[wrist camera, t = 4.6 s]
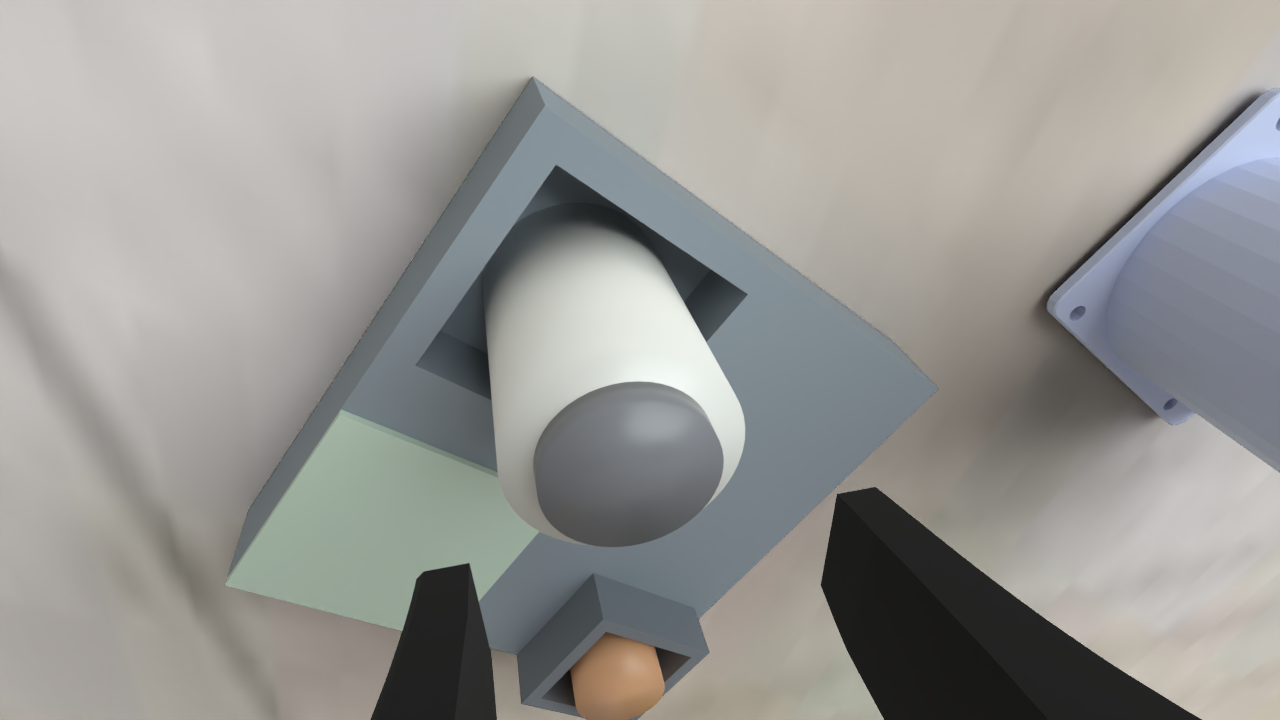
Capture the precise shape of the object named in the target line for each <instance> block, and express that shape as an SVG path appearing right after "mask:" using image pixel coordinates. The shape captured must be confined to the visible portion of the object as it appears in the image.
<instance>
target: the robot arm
mask: <svg viewBox="0 0 1280 720" xmlns="http://www.w3.org/2000/svg"><path fill="white" fill-rule="evenodd" d="M1073 309H1074V310H1073ZM1047 310H1048V312H1049V313H1050V314H1051V315H1052V316H1053V317H1054V318H1055V319H1056V320H1057V321H1058V322H1059V323H1060V324H1061V325H1063V326H1064V327H1065V328H1066V329H1067V330H1068V331H1069V332H1070V333H1071V334H1072V335H1073V336H1074V337H1075V338H1076V339H1077V340H1079V341H1080V342H1081V343H1082V344H1083V345H1084V346H1085V347H1086V348H1087V349H1088V350H1089V351H1090V352H1091V353H1092V354H1093V355H1095V356H1096V357H1097V358H1098V359H1099V360H1100V361H1101V362H1102V363H1103V364H1104V365H1105V366H1106V367H1107V368H1108V369H1109V370H1111V371H1112V372H1113V373H1114V374H1115V375H1116V376H1117V377H1118V378H1119V379H1120V380H1121V381H1122V382H1123V383H1124V384H1125V385H1127V386H1128V387H1129V388H1130V389H1131V390H1132V391H1133V392H1134V393H1135V394H1136V395H1137V396H1138V397H1139V398H1140V399H1142V400H1143V401H1144V402H1145V403H1146V404H1147V405H1148V406H1149V407H1150V408H1151V409H1152V410H1153V411H1154V412H1155V413H1156V414H1158V415H1159V416H1160V417H1161V418H1162V419H1163V420H1164V421H1166V422H1167V423H1168V424H1170V425H1178V424H1181V423H1183V422H1184V421H1186V420H1187V419H1188V418H1190V417H1191V416H1192V415H1193V414H1195V413H1197V414H1198V415H1199V416H1201V417H1202V418H1204V419H1205V420H1206V421H1208V422H1209V423H1211V424H1212V425H1213V426H1215V427H1216V428H1218V429H1219V430H1220V431H1222V432H1223V433H1225V434H1226V435H1227V436H1229V437H1230V438H1232V439H1233V440H1234V441H1236V442H1237V443H1239V444H1240V445H1241V446H1243V447H1244V448H1246V449H1247V450H1248V451H1250V452H1251V453H1253V454H1254V455H1256V456H1257V457H1258V458H1260V459H1261V460H1263V461H1264V462H1265V463H1267V464H1268V465H1270V466H1271V467H1272V468H1274V469H1275V470H1277V471H1278V472H1279V473H1280V88H1273V89H1270V90H1268V91H1266V92H1265V93H1264V94H1262V95H1261V96H1260V97H1259V98H1258V99H1257V100H1255V101H1254V102H1253V103H1252V104H1251V105H1250V106H1249V107H1248V108H1247V109H1246V110H1245V111H1244V112H1243V113H1242V114H1241V115H1240V116H1239V117H1238V118H1237V119H1236V120H1234V121H1233V122H1232V123H1231V124H1230V125H1229V126H1228V127H1227V128H1226V129H1225V130H1224V131H1223V132H1222V133H1221V134H1220V135H1219V136H1218V137H1217V138H1216V139H1214V140H1213V141H1212V142H1211V143H1210V144H1209V145H1208V146H1207V147H1206V148H1205V149H1204V150H1203V151H1202V152H1201V153H1200V154H1199V155H1198V156H1197V157H1196V158H1195V159H1193V160H1192V161H1191V162H1190V163H1189V164H1188V165H1187V166H1186V167H1185V168H1184V169H1183V170H1182V171H1181V172H1180V173H1179V174H1178V175H1177V176H1176V177H1175V178H1174V179H1172V180H1171V181H1170V182H1169V183H1168V184H1167V185H1166V186H1165V187H1164V188H1163V189H1162V190H1161V191H1160V192H1159V193H1158V194H1157V195H1156V196H1155V197H1154V198H1152V199H1151V200H1150V201H1149V202H1148V203H1147V204H1146V205H1145V206H1144V207H1143V208H1142V209H1141V210H1140V211H1139V212H1138V213H1137V214H1136V215H1135V216H1134V217H1133V218H1131V219H1130V220H1129V221H1128V222H1127V223H1126V224H1125V225H1124V226H1123V227H1122V228H1121V229H1120V230H1119V231H1118V232H1117V233H1116V234H1115V235H1114V236H1113V237H1112V238H1110V239H1109V240H1108V241H1107V242H1106V243H1105V244H1104V245H1103V246H1102V247H1101V248H1100V249H1099V250H1098V251H1097V252H1096V253H1095V254H1094V255H1093V256H1092V257H1090V258H1089V259H1088V260H1087V261H1086V262H1085V263H1084V264H1083V265H1082V266H1081V267H1080V268H1079V269H1078V270H1077V271H1076V272H1075V273H1074V274H1073V275H1072V276H1071V277H1069V278H1068V279H1067V280H1066V281H1065V282H1064V283H1063V284H1062V285H1061V286H1060V287H1059V288H1058V289H1057V290H1056V291H1055V292H1054V293H1053V294H1052V295H1051V296H1050V298H1049V300H1048V302H1047ZM821 587H822V589H823V592H824V594H825V597H826V599H827V602H828V605H829V607H830V610H831V612H832V615H833V618H834V620H835V623H836V625H837V627H838V630H839V632H840V635H841V637H842V639H843V642H844V644H845V647H846V649H847V651H848V653H849V655H850V657H851V659H852V661H853V662H854V664H855V666H856V668H857V670H858V672H859V674H860V676H861V677H862V679H863V681H864V683H865V685H866V687H867V689H868V690H869V692H870V694H871V696H872V698H873V700H874V702H875V703H876V705H877V707H878V709H879V711H880V713H881V714H882V716H883V718H884V720H1202V719H1200V718H1198V717H1196V716H1195V715H1193V714H1191V713H1189V712H1188V711H1186V710H1184V709H1183V708H1181V707H1180V706H1178V705H1176V704H1175V703H1173V702H1171V701H1170V700H1168V699H1167V698H1165V697H1163V696H1162V695H1160V694H1158V693H1157V692H1155V691H1154V690H1152V689H1150V688H1149V687H1147V686H1145V685H1144V684H1142V683H1141V682H1139V681H1137V680H1136V679H1134V678H1132V677H1131V676H1129V675H1128V674H1126V673H1124V672H1123V671H1121V670H1120V669H1118V668H1117V667H1115V666H1114V665H1112V664H1111V663H1109V662H1107V661H1106V660H1104V659H1103V658H1101V657H1100V656H1098V655H1097V654H1095V653H1094V652H1092V651H1091V650H1090V649H1088V648H1087V647H1085V646H1084V645H1082V644H1081V643H1079V642H1078V641H1076V640H1075V639H1074V638H1072V637H1071V636H1069V635H1068V634H1066V633H1065V632H1063V631H1062V630H1061V629H1059V628H1058V627H1056V626H1055V625H1053V624H1052V623H1050V622H1049V621H1048V620H1046V619H1045V618H1043V617H1042V616H1041V615H1039V614H1038V613H1036V612H1035V611H1034V610H1032V609H1031V608H1030V607H1028V606H1027V605H1025V604H1024V603H1023V602H1021V601H1020V600H1019V599H1017V598H1016V597H1015V596H1013V595H1012V594H1011V593H1009V592H1008V591H1007V590H1005V589H1004V588H1003V587H1001V586H1000V585H999V584H997V583H996V582H995V581H993V580H992V579H991V578H989V577H988V576H987V575H985V574H984V573H983V572H981V571H980V570H979V569H978V568H976V567H975V566H974V565H972V564H971V563H970V562H969V561H967V560H966V559H965V558H963V557H962V556H961V555H960V554H958V553H957V552H956V551H955V550H953V549H952V548H951V547H950V546H948V545H947V544H946V543H945V542H943V541H942V540H941V539H940V538H938V537H937V536H936V535H935V534H933V533H932V532H931V531H930V530H928V529H927V528H926V527H925V526H923V525H922V524H921V523H920V522H918V521H917V520H916V519H915V518H913V517H912V516H911V515H910V514H908V513H907V512H906V511H905V510H904V509H902V508H901V507H900V506H899V505H897V504H896V503H895V502H894V501H892V500H891V499H890V498H889V497H887V496H886V495H885V494H883V493H882V492H881V491H880V490H878V489H877V488H876V487H873V488H868V489H862V490H857V491H852V492H846V493H841V494H837V498H836V503H835V509H834V515H833V520H832V526H831V531H830V537H829V543H828V548H827V554H826V559H825V565H824V571H823V576H822V582H821ZM371 720H497V717H496V705H495V693H494V681H493V670H492V658H491V651H490V647H489V643H488V639H487V634H486V630H485V626H484V622H483V618H482V613H481V609H480V605H479V601H478V597H477V592H476V588H475V584H474V580H473V576H472V571H471V567H470V563H466V564H461V565H456V566H450V567H445V568H440V569H434V570H429V571H424V572H423V573H422V574H421V575H420V576H419V577H418V578H417V579H416V583H415V587H414V591H413V596H412V600H411V603H410V607H409V610H408V614H407V618H406V621H405V624H404V628H403V631H402V634H401V637H400V640H399V643H398V646H397V649H396V652H395V655H394V658H393V661H392V664H391V667H390V670H389V673H388V676H387V678H386V681H385V684H384V686H383V689H382V691H381V694H380V697H379V699H378V702H377V704H376V707H375V710H374V712H373V715H372V718H371Z"/></svg>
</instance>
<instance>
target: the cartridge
mask: <svg viewBox="0 0 1280 720" xmlns="http://www.w3.org/2000/svg"><path fill="white" fill-rule="evenodd" d="M483 300H484V312H485V325H486V337H487V349H488V361H489V373H490V385H491V397H492V410H493V422H494V434H495V446H496V458H497V470H498V477H499V482H500V486H501V489H502V491H503V494H504V496H505V498H506V500H507V501H508V503H509V505H510V506H511V508H512V509H513V510H514V511H515V512H516V513H517V515H518V516H519V517H520V518H521V519H523V520H524V521H525V522H526V523H527V524H529V525H530V526H531V527H533V528H535V529H536V530H538V531H540V532H541V533H544V534H546V535H548V536H550V537H553V538H556V539H559V540H562V541H565V542H570V543H575V544H581V545H593V546H599V547H625V546H633V545H638V544H643V543H646V542H649V541H653V540H656V539H658V538H661V537H663V536H665V535H667V534H669V533H671V532H673V531H675V530H677V529H679V528H680V527H682V526H683V525H685V524H686V523H688V522H689V521H690V520H691V519H693V518H694V517H695V516H696V515H697V514H698V513H699V512H700V511H701V510H703V509H704V508H705V507H706V506H707V505H708V504H709V503H711V502H712V501H713V500H714V499H715V498H716V497H717V495H718V494H719V493H720V492H721V491H722V490H723V489H724V487H725V486H726V484H727V483H728V482H729V480H730V479H731V477H732V475H733V473H734V472H735V470H736V468H737V466H738V463H739V461H740V458H741V455H742V452H743V447H744V442H745V421H744V415H743V412H742V408H741V405H740V403H739V401H738V399H737V397H736V395H735V393H734V391H733V389H732V388H731V386H730V384H729V382H728V380H727V379H726V377H725V375H724V373H723V372H722V370H721V368H720V366H719V364H718V363H717V361H716V359H715V357H714V355H713V354H712V352H711V350H710V348H709V346H708V345H707V343H706V341H705V339H704V337H703V336H702V334H701V332H700V330H699V328H698V327H697V325H696V323H695V321H694V320H693V318H692V316H691V314H690V312H689V311H688V309H687V307H686V305H685V303H684V302H683V300H682V298H681V296H680V294H679V293H678V291H677V289H676V287H675V285H674V284H673V282H672V280H671V278H670V277H669V275H668V273H667V271H666V269H665V268H664V266H663V264H662V262H661V260H660V259H659V257H658V255H657V253H656V251H655V250H654V248H653V246H652V244H651V242H650V241H649V239H648V238H647V237H646V235H645V234H644V232H643V231H642V230H641V229H640V228H639V227H638V226H637V225H636V224H635V223H633V222H632V221H631V220H629V219H628V218H627V217H625V216H623V215H622V214H620V213H618V212H616V211H614V210H611V209H609V208H606V207H602V206H598V205H594V204H586V203H567V204H559V205H555V206H551V207H547V208H544V209H542V210H539V211H536V212H534V213H532V214H530V215H529V216H527V217H525V218H523V219H522V220H520V221H519V222H518V223H516V224H515V225H514V226H513V227H512V228H511V230H510V231H509V232H508V234H507V235H506V237H505V238H504V240H503V241H502V242H501V244H500V245H499V247H498V248H497V250H496V251H495V252H494V254H493V255H492V257H491V258H490V260H489V261H488V262H487V264H486V268H485V272H484V278H483Z"/></svg>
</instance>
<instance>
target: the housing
mask: <svg viewBox="0 0 1280 720" xmlns="http://www.w3.org/2000/svg"><path fill="white" fill-rule="evenodd" d="M567 203H586V204H594V205H598V206H602V207H606V208H609V209H611V210H614V211H616V212H618V213H620V214H622V215H623V216H625V217H627V218H628V219H629V220H631V221H632V222H633V223H635V224H636V225H637V226H638V227H639V228H640V229H641V230H642V231H643V232H644V234H645V235H646V237H647V238H648V239H649V241H650V242H651V244H652V246H653V248H654V250H655V251H656V253H657V255H658V257H659V259H660V260H661V262H662V264H663V266H664V268H665V269H666V271H667V273H668V275H669V277H670V278H671V280H672V282H673V284H674V285H675V287H676V289H677V291H678V293H679V294H680V296H681V298H682V300H683V302H684V303H685V305H686V307H687V309H688V311H689V312H690V314H691V316H692V318H693V320H694V321H695V323H696V325H697V327H698V328H699V330H700V332H701V334H702V336H703V337H704V339H705V341H706V343H707V345H708V346H709V348H710V350H711V352H712V354H713V355H714V357H715V359H716V361H717V363H718V364H719V366H720V368H721V370H722V372H723V373H724V375H725V377H726V379H727V380H728V382H729V384H730V386H731V388H732V389H733V391H734V393H735V395H736V397H737V399H738V401H739V403H740V405H741V408H742V412H743V415H744V421H745V442H744V447H743V452H742V455H741V458H740V461H739V463H738V466H737V468H736V470H735V472H734V473H733V475H732V477H731V479H730V480H729V482H728V483H727V484H726V486H725V487H724V489H723V490H722V491H721V492H720V493H719V494H718V495H717V497H716V498H715V499H714V500H713V501H712V502H711V503H709V504H708V505H707V506H706V507H705V508H704V509H703V510H701V511H700V512H699V513H698V514H697V515H696V516H695V517H694V518H693V519H691V520H690V521H689V522H688V523H686V524H685V525H683V526H682V527H680V528H679V529H677V530H675V531H673V532H671V533H669V534H667V535H665V536H663V537H661V538H658V539H656V540H653V541H649V542H646V543H643V544H638V545H633V546H625V547H599V546H593V545H581V544H575V543H570V542H565V541H562V540H559V539H556V538H553V537H550V536H548V535H546V534H544V533H541V532H540V531H538V530H536V529H535V528H533V527H531V526H530V525H529V524H527V523H526V522H525V521H524V520H523V519H521V518H520V517H519V516H518V515H517V513H516V512H515V511H514V510H513V509H512V508H511V506H510V505H509V503H508V501H507V500H506V498H505V496H504V494H503V491H502V489H501V486H500V482H499V477H498V470H497V458H496V446H495V434H494V422H493V410H492V397H491V385H490V373H489V361H488V349H487V337H486V325H485V312H484V300H483V278H484V272H485V268H486V264H487V262H488V261H489V260H490V258H491V257H492V255H493V254H494V252H495V251H496V250H497V248H498V247H499V245H500V244H501V242H502V241H503V240H504V238H505V237H506V235H507V234H508V232H509V231H510V230H511V228H512V227H513V226H514V225H515V224H516V223H518V222H519V221H520V220H522V219H523V218H525V217H527V216H529V215H530V214H532V213H534V212H536V211H539V210H542V209H544V208H547V207H551V206H555V205H559V204H567ZM938 389H939V388H938V387H937V386H936V385H935V384H934V383H933V382H932V381H931V380H930V379H929V378H928V377H927V376H926V375H925V374H924V373H923V372H922V370H921V369H920V368H919V367H918V366H917V365H916V364H915V363H914V362H913V361H912V360H911V359H910V358H909V357H908V356H907V355H906V354H905V353H904V352H903V351H902V350H901V349H900V348H899V347H898V346H897V345H896V344H895V343H894V342H893V341H892V340H890V339H889V338H888V337H886V336H885V335H884V334H882V333H881V332H879V331H878V330H877V329H875V328H874V327H873V326H871V325H870V324H869V323H867V322H866V321H865V320H863V319H862V318H860V317H859V316H858V315H856V314H855V313H854V312H852V311H851V310H850V309H848V308H847V307H846V306H844V305H843V304H841V303H840V302H839V301H837V300H836V299H835V298H833V297H832V296H831V295H829V294H828V293H826V292H825V291H824V290H822V289H821V288H820V287H818V286H817V285H816V284H814V283H813V282H812V281H810V280H809V279H807V278H806V277H805V276H803V275H802V274H801V273H799V272H798V271H797V270H795V269H794V268H792V267H791V266H790V265H788V264H787V263H786V262H784V261H783V260H782V259H780V258H779V257H778V256H776V255H775V254H773V253H772V252H771V251H769V250H768V249H767V248H765V247H764V246H763V245H761V244H760V243H759V242H757V241H756V240H754V239H753V238H752V237H750V236H749V235H748V234H746V233H745V232H744V231H742V230H741V229H739V228H738V227H737V226H735V225H734V224H733V223H731V222H730V221H729V220H727V219H726V218H725V217H723V216H722V215H720V214H719V213H718V212H716V211H715V210H714V209H712V208H711V207H710V206H708V205H707V204H706V203H704V202H703V201H701V200H700V199H699V198H697V197H696V196H695V195H693V194H692V193H691V192H689V191H688V190H686V189H685V188H684V187H682V186H681V185H680V184H678V183H677V182H676V181H674V180H673V179H672V178H670V177H669V176H667V175H666V174H665V173H663V172H662V171H661V170H659V169H658V168H657V167H655V166H654V165H652V164H651V163H650V162H648V161H647V160H646V159H644V158H643V157H642V156H640V155H639V154H638V153H636V152H635V151H633V150H632V149H631V148H629V147H628V146H627V145H625V144H624V143H623V142H621V141H620V140H619V139H617V138H616V137H614V136H613V135H612V134H610V133H609V132H608V131H606V130H605V129H604V128H602V127H601V126H599V125H598V124H597V123H595V122H594V121H593V120H591V119H590V118H589V117H587V116H586V115H585V114H583V113H582V112H580V111H579V110H578V109H576V108H575V107H574V106H572V105H571V104H570V103H568V102H567V101H565V100H564V99H563V98H561V97H560V96H559V95H557V94H556V93H555V92H553V91H552V90H551V89H549V88H548V87H546V86H545V85H544V84H542V83H541V82H540V81H538V80H537V79H536V78H534V77H532V78H531V80H530V81H529V83H528V85H527V86H526V88H525V89H524V91H523V92H522V94H521V95H520V97H519V98H518V100H517V101H516V103H515V104H514V106H513V107H512V109H511V110H510V112H509V114H508V115H507V117H506V118H505V120H504V121H503V123H502V124H501V126H500V127H499V129H498V130H497V132H496V133H495V135H494V136H493V138H492V139H491V141H490V143H489V144H488V146H487V147H486V149H485V150H484V152H483V153H482V155H481V156H480V158H479V159H478V161H477V162H476V164H475V165H474V167H473V168H472V170H471V172H470V173H469V175H468V176H467V178H466V179H465V181H464V182H463V184H462V185H461V187H460V188H459V190H458V191H457V193H456V194H455V196H454V197H453V199H452V201H451V202H450V204H449V205H448V207H447V208H446V210H445V211H444V213H443V214H442V216H441V217H440V219H439V220H438V222H437V223H436V225H435V226H434V228H433V230H432V231H431V233H430V234H429V236H428V237H427V239H426V240H425V242H424V243H423V245H422V246H421V248H420V249H419V251H418V252H417V254H416V255H415V257H414V259H413V260H412V262H411V263H410V265H409V266H408V268H407V269H406V271H405V272H404V274H403V275H402V277H401V278H400V280H399V281H398V283H397V284H396V286H395V288H394V289H393V291H392V292H391V294H390V295H389V297H388V298H387V300H386V301H385V303H384V304H383V306H382V307H381V309H380V310H379V312H378V313H377V315H376V317H375V318H374V320H373V321H372V323H371V324H370V326H369V327H368V329H367V330H366V332H365V333H364V335H363V336H362V338H361V339H360V341H359V342H358V344H357V346H356V347H355V349H354V350H353V352H352V353H351V355H350V356H349V358H348V359H347V361H346V362H345V364H344V365H343V367H342V368H341V370H340V371H339V373H338V375H337V376H336V378H335V379H334V381H333V382H332V384H331V385H330V387H329V388H328V390H327V391H326V393H325V394H324V396H323V397H322V399H321V400H320V402H319V404H318V405H317V407H316V408H315V410H314V411H313V413H312V414H311V416H310V417H309V419H308V420H307V422H306V423H305V425H304V426H303V428H302V429H301V431H300V433H299V434H298V436H297V437H296V439H295V440H294V442H293V443H292V445H291V446H290V448H289V449H288V451H287V452H286V454H285V455H284V457H283V458H282V460H281V462H280V463H279V465H278V466H277V468H276V469H275V471H274V472H273V474H272V475H271V477H270V478H269V480H268V481H267V483H266V484H265V486H264V487H263V489H262V491H261V492H260V494H259V495H258V497H257V498H256V500H255V501H254V503H253V504H252V506H251V507H250V509H249V510H248V514H247V517H246V520H245V523H244V526H243V529H242V533H241V536H240V539H239V542H238V545H237V548H236V551H235V555H234V558H233V561H232V564H231V567H230V570H229V574H228V577H227V580H226V583H225V586H228V587H232V588H235V589H239V590H243V591H247V592H251V593H255V594H259V595H263V596H267V597H271V598H274V599H278V600H282V601H286V602H290V603H294V604H298V605H302V606H306V607H309V608H313V609H317V610H321V611H325V612H329V613H333V614H337V615H341V616H345V617H348V618H352V619H356V620H360V621H364V622H368V623H372V624H376V625H380V626H384V627H387V628H391V629H395V630H399V631H403V628H404V624H405V621H406V618H407V614H408V610H409V607H410V603H411V600H412V596H413V591H414V587H415V583H416V579H417V578H418V577H419V576H420V575H421V574H422V573H423V572H424V571H429V570H434V569H440V568H445V567H450V566H456V565H461V564H466V563H470V567H471V571H472V576H473V580H474V584H475V588H476V592H477V597H478V601H479V605H480V609H481V613H482V618H483V622H484V626H485V630H486V634H487V639H488V643H489V647H490V648H492V649H496V650H499V651H503V652H507V653H511V654H515V655H517V661H518V672H519V684H520V695H521V704H524V705H529V706H533V707H538V708H542V709H547V710H551V711H556V712H560V713H565V714H569V715H574V716H578V717H582V716H581V715H580V714H579V713H578V711H577V709H576V704H575V698H574V691H573V685H572V678H571V672H570V668H571V667H572V666H573V665H574V664H575V663H576V662H577V661H578V660H579V659H580V658H581V657H582V656H583V655H584V654H585V653H586V652H587V651H588V650H589V649H590V648H591V647H592V646H593V645H594V644H595V643H596V642H597V641H598V640H599V639H600V638H601V637H602V636H603V635H604V634H605V633H606V632H609V633H612V634H615V635H619V636H622V637H625V638H628V639H632V640H635V641H638V642H642V643H645V644H648V645H652V646H655V650H656V654H657V657H658V661H659V665H660V668H661V672H662V676H663V680H664V683H665V690H664V693H663V695H664V694H665V693H666V692H667V691H669V690H670V689H671V688H672V687H673V686H674V685H675V684H676V683H677V682H678V681H679V680H680V679H681V678H683V677H684V676H685V675H686V674H687V673H688V672H689V671H690V670H691V669H692V668H693V667H694V666H695V665H697V664H698V663H699V662H700V661H701V660H702V659H703V658H704V657H705V656H706V655H707V654H708V653H709V649H708V646H707V643H706V640H705V638H704V635H703V632H702V629H701V626H700V623H699V620H698V619H699V618H700V617H701V616H702V615H703V614H704V613H705V612H706V611H708V610H709V609H710V608H711V607H712V606H713V605H714V604H715V603H716V602H717V601H718V600H719V599H720V598H721V597H722V596H723V595H724V594H725V593H726V592H727V591H728V590H729V589H730V588H731V587H733V586H734V585H735V584H736V583H737V582H738V581H739V580H740V579H741V578H742V577H743V576H744V575H745V574H746V573H747V572H748V571H749V570H750V569H751V568H752V567H753V566H754V565H755V564H757V563H758V562H759V561H760V560H761V559H762V558H763V557H764V556H765V555H766V554H767V553H768V552H769V551H770V550H771V549H772V548H773V547H774V546H775V545H776V544H777V543H778V542H779V541H780V540H782V539H783V538H784V537H785V536H786V535H787V534H788V533H789V532H790V531H791V530H792V529H793V528H794V527H795V526H796V525H797V524H798V523H799V522H800V521H801V520H802V519H803V518H804V517H805V516H807V515H808V514H809V513H810V512H811V511H812V510H813V509H814V508H815V507H816V506H817V505H818V504H819V503H820V502H821V501H822V500H823V499H824V498H825V497H826V496H827V495H828V494H829V493H830V492H832V491H833V490H834V489H835V488H836V487H837V486H838V485H839V484H840V483H841V482H842V481H843V480H844V479H845V478H846V477H847V476H848V475H849V474H850V473H851V472H852V471H853V470H854V469H855V468H857V467H858V466H859V465H860V464H861V463H862V462H863V461H864V460H865V459H866V458H867V457H868V456H869V455H870V454H871V453H872V452H873V451H874V450H875V449H876V448H877V447H878V446H879V445H880V444H882V443H883V442H884V441H885V440H886V439H887V438H888V437H889V436H890V435H891V434H892V433H893V432H894V431H895V430H896V429H897V428H898V427H899V426H900V425H901V424H902V423H903V422H904V421H905V420H907V419H908V418H909V417H910V416H911V415H912V414H913V413H914V412H915V411H916V410H917V409H918V408H919V407H920V406H921V405H922V404H923V403H924V402H925V401H926V400H927V399H928V398H929V397H931V396H932V395H933V394H934V393H935V392H936V391H937V390H938ZM663 695H662V696H663ZM644 713H645V712H644ZM644 713H643V714H644ZM643 714H641V715H639V716H636V717H634V718H631V719H628V720H637V719H638V718H639V717H641V716H642V715H643ZM583 718H584V717H583Z"/></svg>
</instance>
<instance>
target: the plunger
mask: <svg viewBox="0 0 1280 720" xmlns="http://www.w3.org/2000/svg"><path fill="white" fill-rule="evenodd" d="M570 672H571V678H572V685H573V691H574V698H575V704H576V709H577V711H578V713H579V714H580V715H581V716H582V717H584V718H585V719H587V720H628V719H631V718H634V717H636V716H639V715H641V714H643V713H644V712H646V711H648V710H649V709H650V708H652V707H653V706H654V705H655V704H656V703H657V702H658V701H659V700H660V699H661V697H662V695H663V693H664V690H665V683H664V680H663V676H662V672H661V668H660V665H659V661H658V657H657V654H656V650H655V646H652V645H648V644H645V643H642V642H638V641H635V640H632V639H628V638H625V637H622V636H619V635H615V634H612V633H609V632H606V633H605V634H604V635H603V636H602V637H601V638H600V639H599V640H598V641H597V642H596V643H595V644H594V645H593V646H592V647H591V648H590V649H589V650H588V651H587V652H586V653H585V654H584V655H583V656H582V657H581V658H580V659H579V660H578V661H577V662H576V663H575V664H574V665H573V666H572V667H571V668H570Z"/></svg>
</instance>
